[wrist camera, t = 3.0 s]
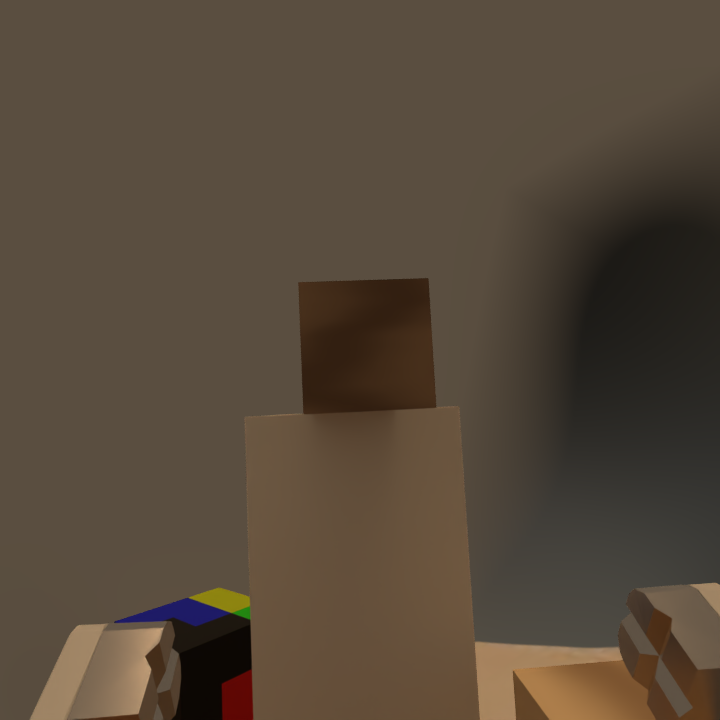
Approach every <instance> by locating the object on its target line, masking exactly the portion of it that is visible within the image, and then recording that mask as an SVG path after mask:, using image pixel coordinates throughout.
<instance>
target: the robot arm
mask: <svg viewBox="0 0 720 720" xmlns="http://www.w3.org/2000/svg"><path fill="white" fill-rule="evenodd" d="M626 605H627V606H628V608H629V609H630V611H631V613H630V614H629V615H628V616H627V617H626V618H625V619H623V620H622V621H621V624H620V628H619V633H618V640H619V647H620V653H621V655H622V658H623V661H624V664H625V666H626V667H627V669H628V671H629V673H630V675H631V677H632V678H633V679H634V680H635V681H637V682H638V683H639V684H641V685H642V686H643V687H645V688H646V689H647V690H648V696H647V705H648V707H649V708H650V710H651V712H652V713H653V715H654V717H655V719H656V720H720V585H719V584H717V583H709V584H694V585H674V586H661V587H650V588H638V589H634V590H632V591H631V592H630V593H629V596H628V599H627V602H626ZM174 637H175V633H174V629H173V625H172V622H171V621H158V622H133V623H109V624H93V625H78V626H77V627H76V628H75V629H74V630H73V632H72V633H71V634H70V635H69V637H68V639H67V641H66V643H65V646H64V648H63V650H62V652H61V654H60V656H59V658H58V660H57V663H56V665H55V667H54V669H53V671H52V673H51V675H50V677H49V680H48V682H47V684H46V686H45V688H44V690H43V692H42V694H41V696H40V699H39V701H38V703H37V705H36V707H35V710H34V711H33V714H32V716H31V718H30V720H171V719H172V718H173V717H174V716H175V714H176V710H177V705H178V700H179V694H180V684H181V663H180V658H179V653H177V652H176V651H175V650H174V649H172V645H173V641H174Z"/></svg>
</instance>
